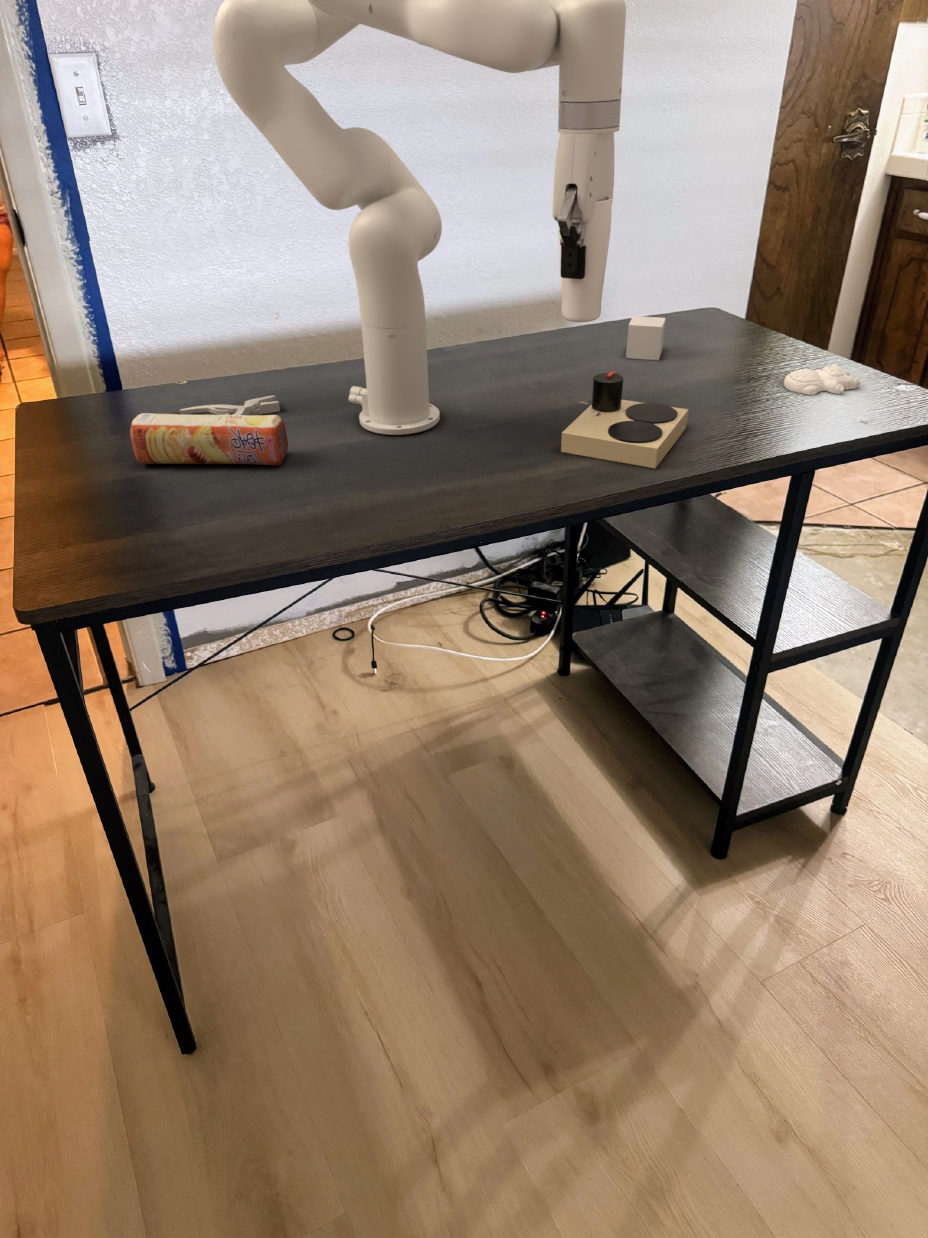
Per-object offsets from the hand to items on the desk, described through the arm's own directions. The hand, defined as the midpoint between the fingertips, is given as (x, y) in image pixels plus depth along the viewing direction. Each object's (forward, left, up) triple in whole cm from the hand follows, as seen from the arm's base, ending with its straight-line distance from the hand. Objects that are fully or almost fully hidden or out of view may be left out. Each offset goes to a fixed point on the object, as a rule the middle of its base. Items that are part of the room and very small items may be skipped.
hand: (582, 270), depth 117 cm
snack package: (-45, -28, -24) cm, 58 cm away
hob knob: (+2, +7, -21) cm, 22 cm away
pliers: (-54, -13, -24) cm, 60 cm away
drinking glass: (0, 0, -6) cm, 6 cm away
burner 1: (+9, +7, -21) cm, 24 cm away
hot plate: (+7, +3, -24) cm, 25 cm away
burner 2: (+9, -1, -21) cm, 23 cm away
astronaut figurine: (+29, +38, -24) cm, 54 cm away
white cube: (-3, +43, -24) cm, 49 cm away
